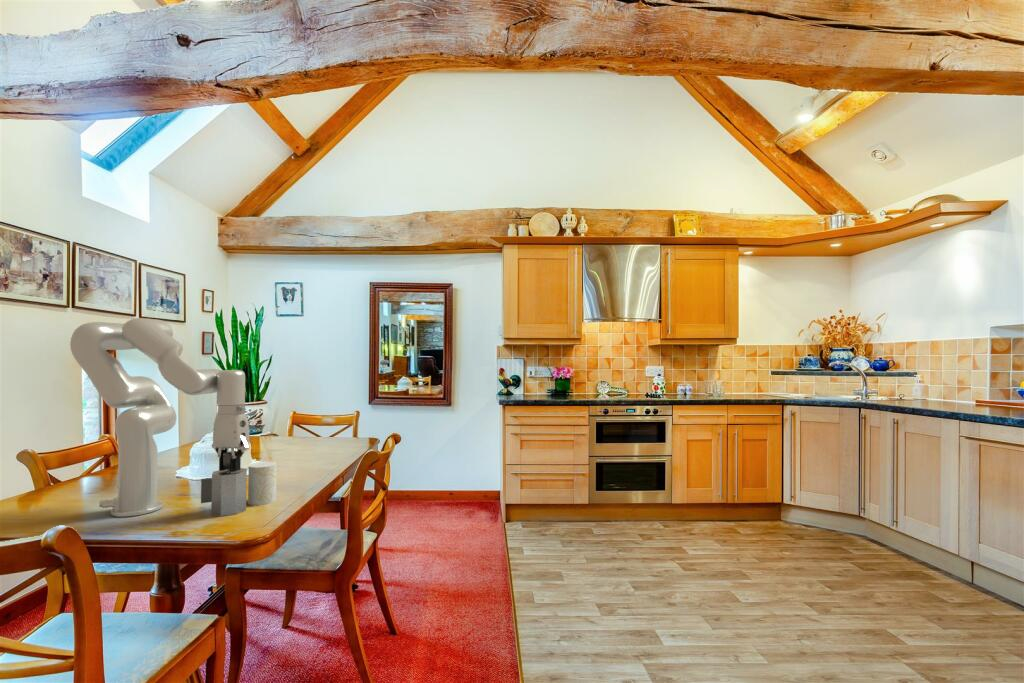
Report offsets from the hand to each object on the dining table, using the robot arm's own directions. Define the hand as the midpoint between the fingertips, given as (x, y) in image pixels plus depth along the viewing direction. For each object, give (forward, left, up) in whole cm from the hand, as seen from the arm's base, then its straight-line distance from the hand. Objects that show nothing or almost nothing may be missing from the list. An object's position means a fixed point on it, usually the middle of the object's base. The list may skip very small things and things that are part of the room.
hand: (229, 469), depth 148 cm
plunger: (0, 0, -12) cm, 12 cm away
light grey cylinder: (+9, +6, -13) cm, 17 cm away
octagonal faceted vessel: (-1, 0, -13) cm, 13 cm away
